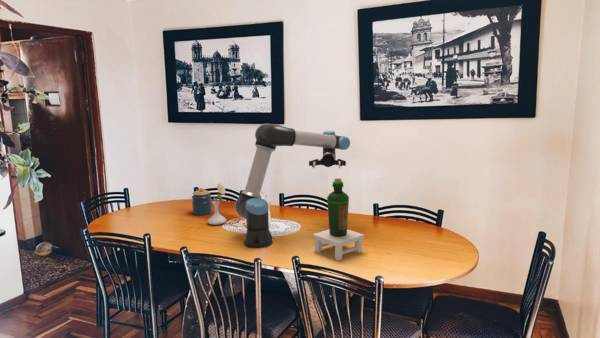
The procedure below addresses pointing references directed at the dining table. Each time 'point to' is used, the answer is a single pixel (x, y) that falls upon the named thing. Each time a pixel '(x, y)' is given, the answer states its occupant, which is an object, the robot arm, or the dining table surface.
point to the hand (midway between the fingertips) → (326, 165)
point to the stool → (338, 242)
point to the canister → (201, 202)
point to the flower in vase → (217, 217)
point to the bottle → (338, 210)
